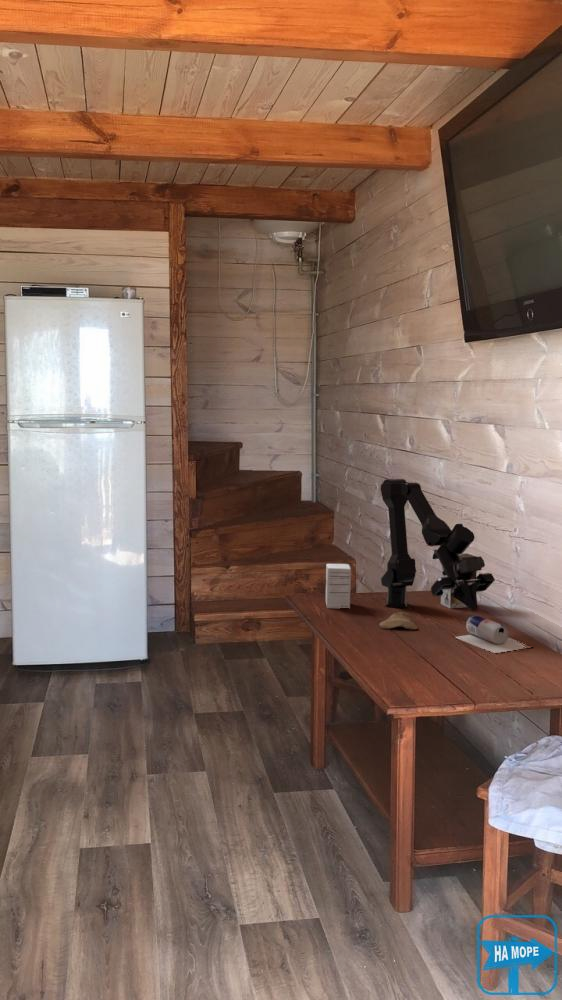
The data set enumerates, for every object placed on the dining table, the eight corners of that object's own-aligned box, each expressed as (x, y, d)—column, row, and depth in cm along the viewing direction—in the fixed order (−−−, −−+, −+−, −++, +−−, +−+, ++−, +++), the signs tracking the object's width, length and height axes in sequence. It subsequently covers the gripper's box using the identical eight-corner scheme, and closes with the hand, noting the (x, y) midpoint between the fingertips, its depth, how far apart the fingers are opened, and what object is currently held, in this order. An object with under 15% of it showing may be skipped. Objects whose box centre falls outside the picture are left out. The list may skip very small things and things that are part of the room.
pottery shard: (418, 636, 244) (415, 618, 253) (418, 622, 242) (415, 605, 252) (380, 637, 245) (378, 619, 254) (379, 623, 243) (378, 606, 252)
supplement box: (325, 602, 274) (326, 563, 272) (348, 603, 274) (349, 563, 272) (326, 608, 266) (327, 567, 265) (350, 608, 266) (351, 568, 265)
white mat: (455, 637, 236) (455, 636, 236) (492, 632, 242) (492, 631, 242) (495, 653, 222) (495, 652, 222) (533, 647, 228) (533, 646, 228)
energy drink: (483, 615, 241) (511, 626, 230) (478, 634, 241) (506, 646, 230) (467, 613, 239) (495, 624, 228) (463, 632, 239) (490, 643, 228)
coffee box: (465, 602, 278) (467, 552, 276) (475, 607, 271) (478, 556, 270) (439, 604, 275) (441, 554, 273) (449, 608, 269) (452, 557, 267)
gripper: (439, 549, 237) (463, 597, 228) (492, 544, 245) (517, 591, 237) (420, 572, 245) (443, 619, 236) (472, 567, 253) (496, 612, 245)
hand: (475, 610), depth 238 cm, fingers closed
